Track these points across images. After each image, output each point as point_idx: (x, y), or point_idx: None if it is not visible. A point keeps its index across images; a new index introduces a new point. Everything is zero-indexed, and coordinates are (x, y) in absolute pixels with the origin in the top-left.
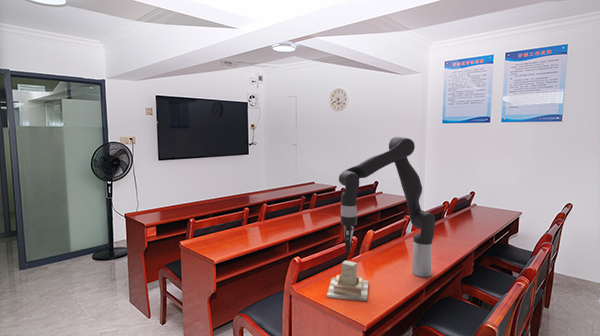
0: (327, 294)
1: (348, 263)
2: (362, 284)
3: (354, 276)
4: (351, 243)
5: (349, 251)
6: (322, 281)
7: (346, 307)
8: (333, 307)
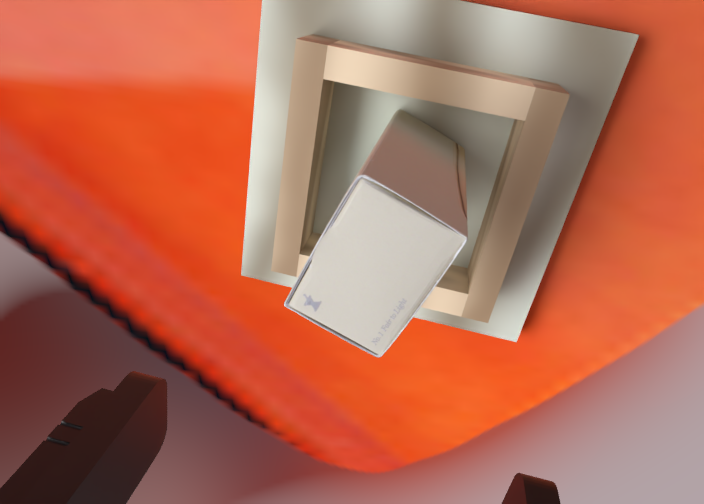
0: (515, 338)
1: (388, 287)
2: (347, 38)
3: (435, 164)
4: (148, 400)
5: (550, 484)
6: (283, 330)
7: (695, 221)
8: (672, 308)
